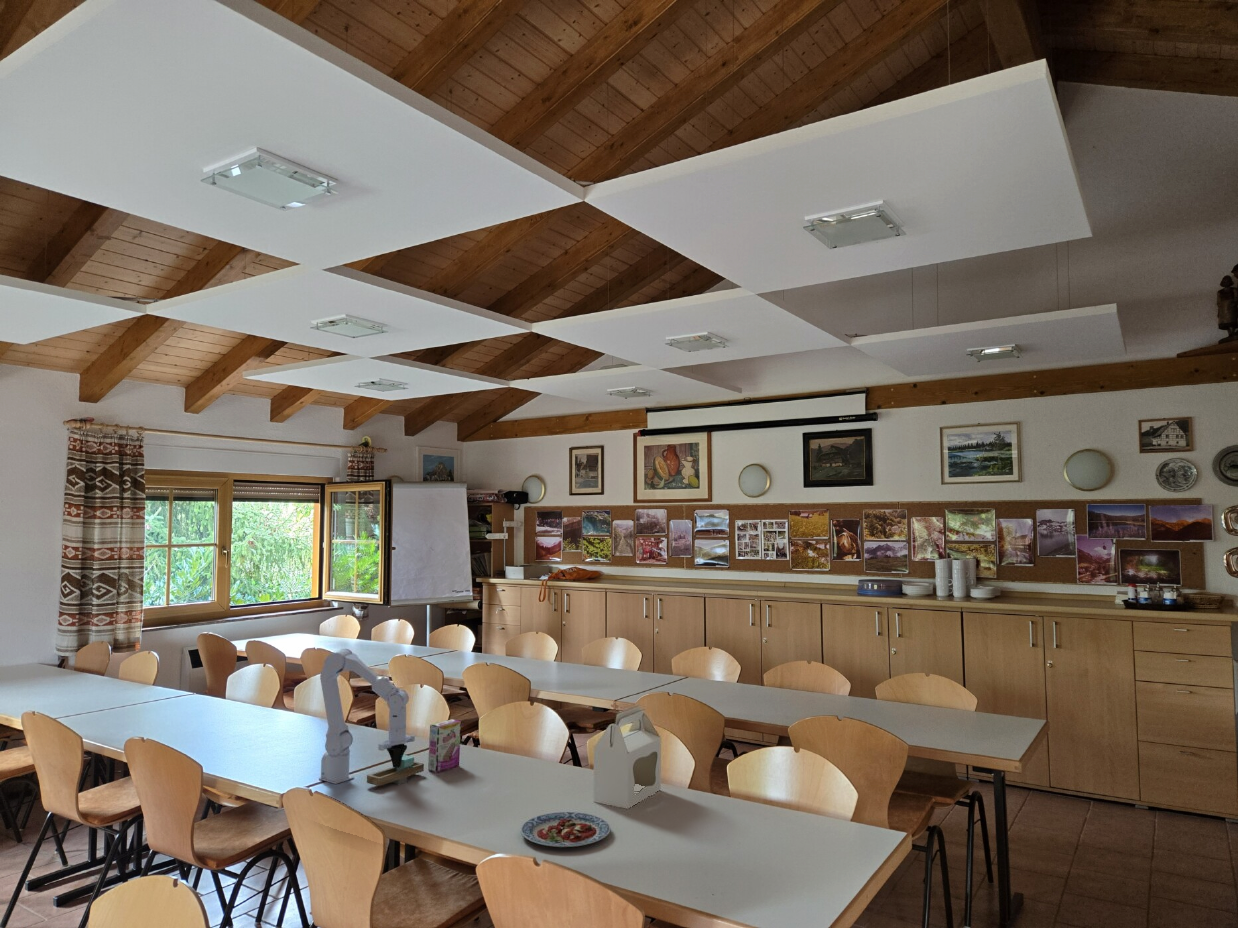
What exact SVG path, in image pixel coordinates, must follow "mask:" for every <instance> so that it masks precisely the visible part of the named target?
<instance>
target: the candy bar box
mask: <svg viewBox="0 0 1238 928" xmlns="http://www.w3.org/2000/svg"><path fill="white" fill-rule="evenodd" d="M461 727H462V721H461V720H458V719H453V718H452V719H449V720H445V721H440V722H435V723H431V724H429V736H428V737H429V741H428V765H427V766H428V767H427V768H428V769H427V770H428V771H429V772H432V773H435V774H437V773H441V772H443V771H446V770H450V769H453V768H456V767H457V768H458V767H460V753H461V752H460V751H461V749H460V748H461Z"/></svg>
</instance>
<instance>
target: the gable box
mask: <svg viewBox="0 0 1238 928" xmlns="http://www.w3.org/2000/svg"><path fill="white" fill-rule="evenodd" d="M645 710H646V709H645V708H644V709H642V706H641V705H639V704H638V705H636V706H633V707H631V708H628V709H625V710H623V711H621V712H617V713H615V716H614V723H611V724H609V725H608V726H607V727H606V729H605V731H604V732H603V733H602V735H601V736H600V738H599V739H598V741H597V742H596V744H595V745H594V746H593V789H592V790H593V792H592V793H593V794H592V795H593V797H592V798H593V803H597V804H601V805H605V804H606V805H605V806H610V805H612V806H611V807H614V806H617V807H616V808H619V807H623V808H628V809H627V810H630V809H631V808H633V807H634V806H633V805H635V804H637V803H638V802H640V803H641V801H642V800H643V801H645V800H646V799H645V798H647V797H648V796H650V797H652V796H653V795H652V794H654V793H655V792H657V791H658V790H660V789H662V787H661V786H662V785H661V783H662V782H661V780H662V775H661V774H662V769H661V768H662V764H661V763H662V738H661V736H660V735H659V733H658V731H657V730H656V729H655V727H654V725H653V723H652V722H651V720H650V719H649V717H648V716H647V715H646V713H645ZM629 724H631V726H630V727H629V730H628V731H627V732H624V733H622V730H621V728H622V727H625V726H626V725H629ZM635 784H639V785H641V786H645V787H644V788H642V789H641V790H640V791H634V786H635ZM660 791H661V790H660ZM634 792H639V793H634ZM657 793H658V792H657ZM635 794H636V795H635ZM655 794H656V793H655ZM655 794H654V795H655ZM651 795H652V796H651ZM648 798H649V797H648ZM648 798H647V799H648ZM644 799H645V800H644ZM643 801H642V802H643ZM638 804H639V803H638ZM638 804H637V805H638ZM632 806H633V807H632ZM635 806H636V805H635ZM630 807H631V808H630ZM623 808H622V809H623ZM629 808H630V809H629Z"/></svg>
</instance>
